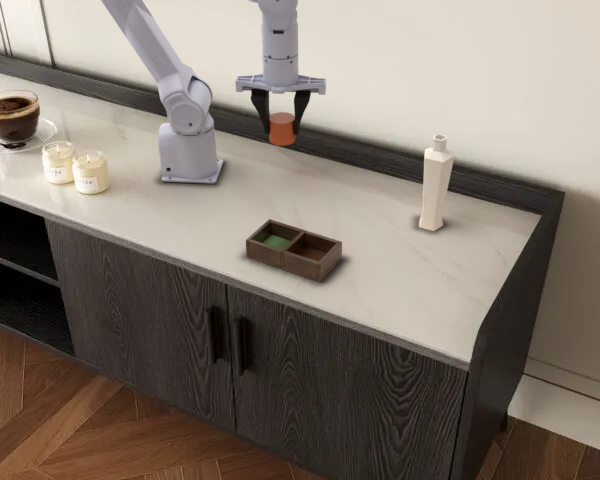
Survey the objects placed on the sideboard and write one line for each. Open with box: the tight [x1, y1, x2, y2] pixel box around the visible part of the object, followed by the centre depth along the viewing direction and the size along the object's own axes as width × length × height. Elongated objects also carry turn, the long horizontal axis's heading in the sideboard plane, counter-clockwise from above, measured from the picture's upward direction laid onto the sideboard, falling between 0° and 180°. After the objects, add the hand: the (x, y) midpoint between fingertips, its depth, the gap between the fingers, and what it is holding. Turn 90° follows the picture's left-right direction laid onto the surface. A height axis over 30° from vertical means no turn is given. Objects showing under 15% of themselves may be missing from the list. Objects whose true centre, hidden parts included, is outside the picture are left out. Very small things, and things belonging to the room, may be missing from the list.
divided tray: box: [245, 218, 343, 283], centre depth 113 cm, size 13×7×3 cm, turn 60°
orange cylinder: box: [268, 111, 296, 147], centre depth 128 cm, size 4×4×4 cm
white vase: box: [418, 133, 455, 232], centre depth 116 cm, size 5×4×15 cm
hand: (282, 132), depth 128 cm, fingers closed on orange cylinder, 4 cm apart
